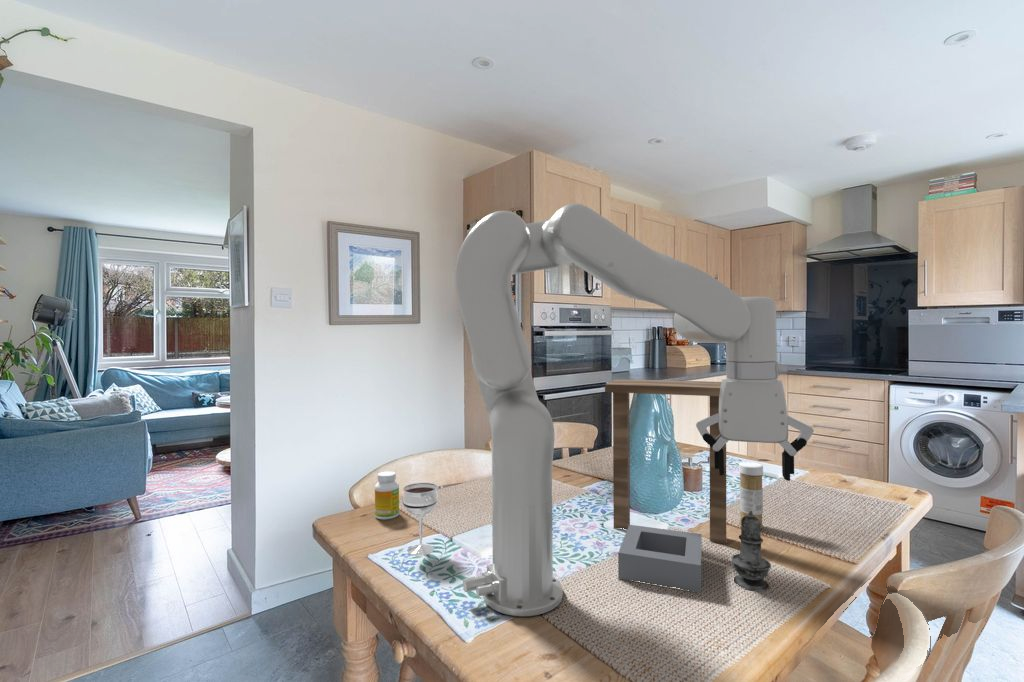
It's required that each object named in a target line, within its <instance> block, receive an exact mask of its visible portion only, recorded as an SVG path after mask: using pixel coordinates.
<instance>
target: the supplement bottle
mask: <svg viewBox="0 0 1024 682" xmlns="http://www.w3.org/2000/svg"><path fill="white" fill-rule="evenodd" d="M396 475H397V474H396V472H395V471H382V472H378V473H377V483H375V485H374V517H375V518H376V519H379V520H392V519H394V518H397V517H398V516H400V515H399V514H400V485H399V483H398V481H396V478H397V476H396Z"/></svg>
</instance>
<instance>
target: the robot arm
mask: <svg viewBox="0 0 1024 682" xmlns="http://www.w3.org/2000/svg"><path fill="white" fill-rule="evenodd" d="M456 258H457V259H456V264H455V269H454V283H455V285H454V286H455V291H456V297H457V302H458V306H459V310H460V312H461V317H462V321H463V325H464V330H465V333H466V337H467V339H468V344H469V347H470V351H471V362H472V367H473V371H474V373H475V377H476V380H477V384H478V388H479V391H480V393H481V398H482V400H483V404H484V408H485V411H486V414H487V417H488V421H489V424H490V425H489V426H490V431H491V500H492V501H491V502H492V503H491V508H492V509H491V511H492V514H491V518H492V520H491V523H492V525H491V526H492V531H491V532H492V535H491V536H492V537H491V538H492V563H491V564H487V565H486V571H485V572H482V573H481V575H478V576H474V575H473V576H470V577H466V578H463V579H462V586H463V588H462V589H463V591H464V593H469V592H474V591H475V593H476V597H478V598H479V597H483V600H484V602H485V603H486V604H487V606H488V607H490V608H491V609H493V610H495V611H496V612H498V613H501V614H504V615H507V616H511V617H512V616H513V617H533V616H538V615H541V614H545V613H548V612H550V611H553V609H555V608H556V607H558V605H560V604H561V603H562V599H563V595H564V593H563V592H564V589H563V586H562V584H561V582H560V581H559V580H558V579H557V578H556V577H555V576H553V575H554V574H553V573H554V571H553V569H554V568H553V564H554V562H553V555H554V553H553V551H554V549H553V545H554V544H553V465H554V463H553V461H554V451H555V450H554V448H555V427H554V422H553V418H552V415H551V414H550V412H549V410H548V408H547V407H546V406H545V404H543V402H541V401H540V399H539V397H538V394H537V390H536V386H535V382H534V379H533V376H532V371H531V367H532V355H531V351H530V348H529V345H528V343H527V340H526V338H525V335H524V332H523V329H522V325H521V322H520V319H519V316H518V313H517V308H516V304H515V303H516V302H515V300H514V296H513V292H512V280H511V279H512V276H514V275H519V274H524V273H530V272H537V271H542V270H543V271H544V270H548V269H554V268H559V267H563V266H568V265H571V264H574V265H575V266H576V267H579V268H580V269H582V270H583V271H585V272H586V273H587V274H589V275H591V276H593V277H594V278H595V279H597V280H598V281H600V282H601V283H603V284H604V285H606V286H607V287H608V288H610V289H612V291H614V292H616V293H618V294H620V295H621V296H624V297H628V298H629V299H633V300H636V301H637V300H638V301H642V302H646V303H650V304H654V305H657V306H660V307H662V308H664V309H667V310H669V311H671V312H672V313H674V315H673V326H674V327H673V328H674V329H675V332H677V334H678V335H679V336H680V337H681V338H683V339H685V340H687V341H689V342H692V343H701V344H702V343H705V344H706V343H707V344H709V343H710V344H711V343H713V344H715V343H716V344H725V357H726V359H725V360H726V361H725V363H726V364H725V365H726V366H725V367H726V373H725V374H726V378H723V379H721V381H720V382H721V387H720V394H719V413H717V414H715V415H712V416H710V415H709V416H708V417H706V418H703V419H701V420H699V421H697V422H696V424H695V425H696V429H697V431H698V432H699V434H700V436H701V437H702V440H703V441H704V442H705V443H706V444H708V445H709V447H710V446H711V447H712V448H713V450H714V460H715V469H719V475H722V476H723V475H724V451H723V449H722V447H723V446H724V445H725V444H726V445H727V443H728V442H741V443H742V442H744V443H745V442H746V443H759V444H760V443H761V444H762V443H764V444H779V445H780V446H781V447H782V449H783V451H782V453H781V467H782V468H781V469H782V471H781V474H782V477H783V478H784V480H785V481H787V482H788V481H791V475H795V456H796V455H797V453H798V452H799V451H801V450H802V449H803V448H804V447H805V446H807V444H808V441H809V440H810V439H811V437H812V435H813V434H814V428H813V427H812V426H811V425H809V424H806V423H804V422H801V421H800V420H797V419H796V418H794V417H792V416H789V415H788V410H787V409H788V408H787V402H786V401H787V400H786V394H785V389H784V385H783V382H782V380H779V376H780V375H782V374H788V365H787V364H785V365H784V364H781V363H779V361H778V355H777V354H778V348H777V347H778V346H777V345H778V344H777V342H778V341H777V339H778V338H777V306H776V301H774V299H773V298H771V297H768V296H742V297H741V296H740V295H739V294H738V293H736V292H735V291H734V290H732V289H731V288H729V287H728V286H727V285H725V284H724V283H722V282H721V281H719V280H718V279H716V278H715V277H714V276H712V275H710V274H709V273H707V272H705V271H704V270H701V269H699V268H697V267H695V266H693V265H691V264H688V263H685V262H683V261H680V260H679V259H675V258H673V257H672V256H669V255H667V254H663V253H661V252H659V251H656V250H653V249H652V248H650V247H648V246H646V245H645V244H644V243H642V242H641V241H639V240H638V239H636V238H635V237H633V236H631V234H629V233H628V232H626V231H624V230H623V229H622V228H620V227H618V226H617V225H616V224H614V223H613V222H611V221H610V220H608V219H607V218H605V217H604V216H602V215H601V214H600V213H598V212H597V211H595V210H593V209H592V208H590V207H589V206H587V205H584V204H580V203H569V204H566V205H563V206H562V207H560V208H559V209H557V210H556V212H555V213H554V214H553V215H552V216H551V218H550V219H545V220H541V221H537V222H529V223H526V222H525V220H524V219H523V218H522V217H521V216H520V215H519V214H517V213H515V212H513V211H509V210H497V211H493V212H492V213H489V214H487V215H486V216H484V217H483V218H481V220H479V221H478V222H477V223H476V224H475V225H474V226H473V227H472V228H471V230H469V233H468V234H467V236H465V238H464V240H463V242H462V243H461V247H460V248H459V251H458V254H457V257H456ZM717 422H718V424H719V432H720V435H719V436H718V437H717V438H716V439H714V438H713V437H712V436H711V435H710V431H708V427H710V426H711V425H713V424H715V423H717ZM789 427H792V428H794V429H796V430H798V431H800V433H799V435H798V436H797V438H795V439H794V440H793V441H792V442H791V443H790V441H789V440H788V439H789V438H788V437H789Z"/></svg>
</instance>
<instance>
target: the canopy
mask: <svg viewBox="0 0 1024 682" xmlns="http://www.w3.org/2000/svg"><path fill="white" fill-rule="evenodd" d="M721 382H722V381H705V380H704V381H703V380H702V381H699V380H698V381H697V380H693V381H692V380H663V379H662V380H658V379H627V378H626V379H624V378H621V379H620V378H615V379H613V380H611V381H609V382H607V383H605V384H604V393H612V443H613V444H612V450H613V451H612V452H613V453H612V456H613V457H612V459H613V460H612V461H613V462H612V465H613V466H612V468H613V469H612V471H613V474H612V475H613V478H612V479H613V481H612V484H613V487H612V488H613V499H612V500H613V505H612V506H613V529H615V528H622V529H621V530H623V528H624V529H628V527H629V525H631V479H630V478H631V477H630V476H631V473H630V472H631V469H630V467H631V465H630V463H631V459H630V457H631V455H630V454H631V452H630V451H631V448H630V444H631V443H630V441H631V438H630V435H631V433H630V431H631V429H630V417H631V415H630V412H631V411H630V394H644V395H645V394H648V395H673V396H674V395H675V396H701V397H702V396H704V397H709V401H708V402H709V403H708V404H709V417H710V416H712V415H715V414H717V413H719V394H720V387H721ZM709 434H710V435H711V436H712V437H713V438H714V439H716V438H717V437H718V436H719V435H720V432H719V424H718V422H717V423H715V424H713V425H711V426H709ZM722 449H723V451H724V475H723V476H722V475H719V469H715V460H714V450H713V448H712V447H711V446H710V445H709V542H710V541H713V542H712V543H719V544H725V545H726V544H727V443H726V444H725V445H724V446H723V447H722Z"/></svg>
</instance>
